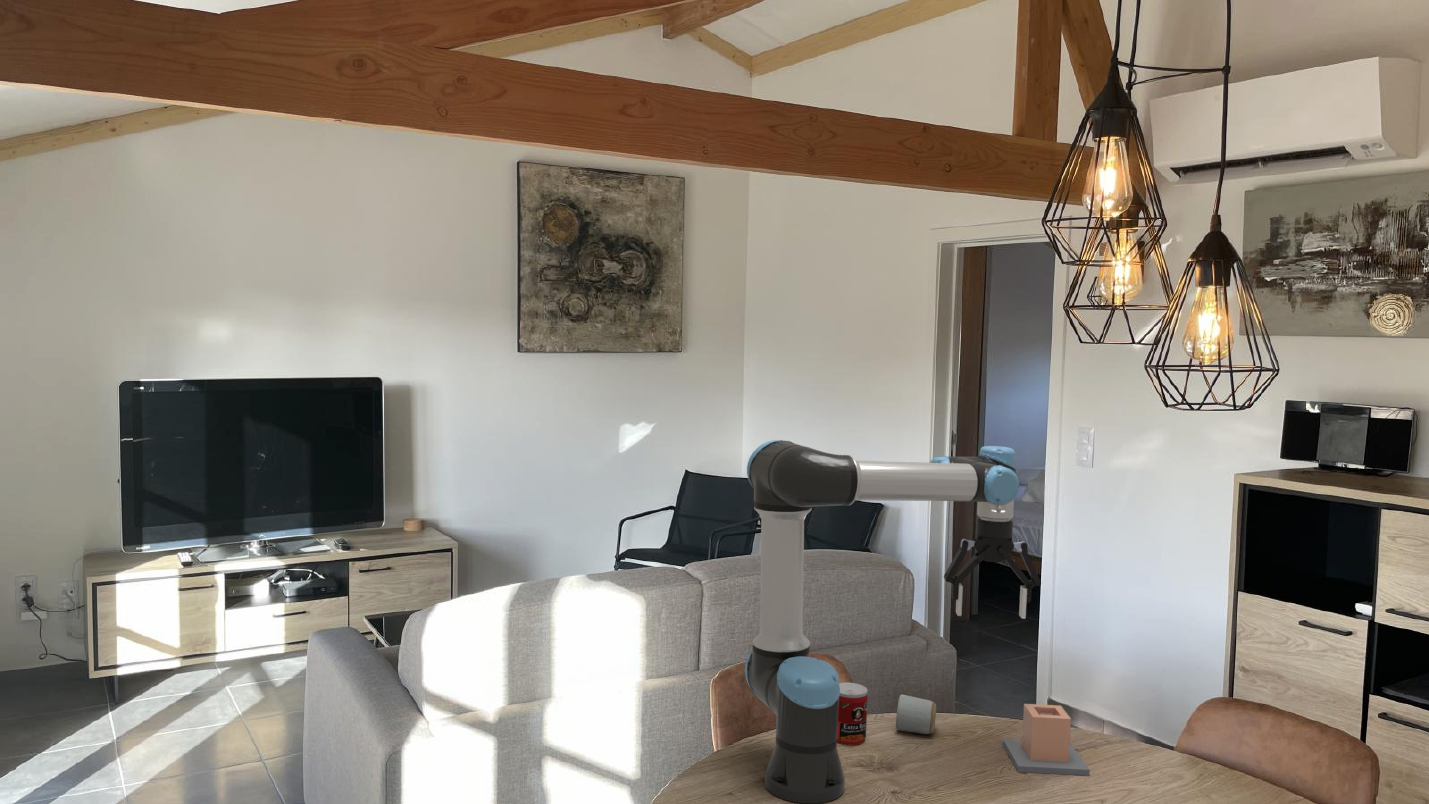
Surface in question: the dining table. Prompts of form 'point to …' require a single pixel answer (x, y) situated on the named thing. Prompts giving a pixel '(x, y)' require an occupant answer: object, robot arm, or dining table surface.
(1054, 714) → the square open box
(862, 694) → the canned food
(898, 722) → the ceramic mug
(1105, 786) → the dining table surface
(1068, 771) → the shaft plate
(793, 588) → the robot arm
